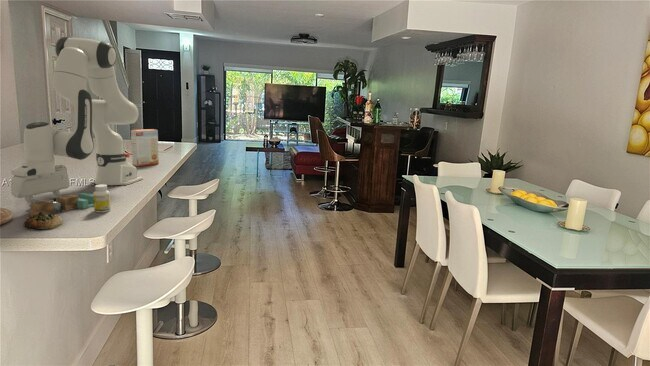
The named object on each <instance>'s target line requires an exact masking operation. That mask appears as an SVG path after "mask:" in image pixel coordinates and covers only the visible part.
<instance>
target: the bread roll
mask: <svg viewBox="0 0 650 366" xmlns="http://www.w3.org/2000/svg"><path fill="white" fill-rule="evenodd" d="M63 223H64V221H63V219H62V218H61V217H60V216H58V215H56V214H49V213H46V214H45V213H43V212H40V213H39V214H37V215H33V214H32V215H31V214H30V215H29V216H28V217H27V218H26V219H25V220H24V222H23V225H24V228H25V229H26V230H31V231H35V230H36V231H39V230H40V229H41V230H53V229H56V228H59V227H60V226H61V225H62V224H63Z"/></svg>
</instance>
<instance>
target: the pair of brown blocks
mask: <svg viewBox="0 0 650 366" xmlns="http://www.w3.org/2000/svg"><path fill="white" fill-rule="evenodd" d="M78 198H79V195H76V194H68V195H67V194H66V195H61V196H58V197H57V203H61V204H62V205H63V210H62V211H71V210H74V209H78V208H77V200H78ZM43 200H44V201H40V202H36V203H31V204H30V207H29V210H30V216H31V215H32V214H33V215H37V214H39V213H40V212H43V213H45V214H46V213H49V214H52V215H55V213H54V206H53V202H51V201H50V200H45V199H43Z"/></svg>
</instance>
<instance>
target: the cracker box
mask: <svg viewBox="0 0 650 366" xmlns="http://www.w3.org/2000/svg"><path fill="white" fill-rule="evenodd" d="M130 139H131V160H132V161H131V164H132V165H133V166H135V167H143V166H144V167H145V166H151V165H152V166H153V165H159V163H160V162H159V158H160V157H159V132H158V129H155V128H151V129H150V128H149V129H148V128H147V129H131V130H130Z"/></svg>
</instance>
